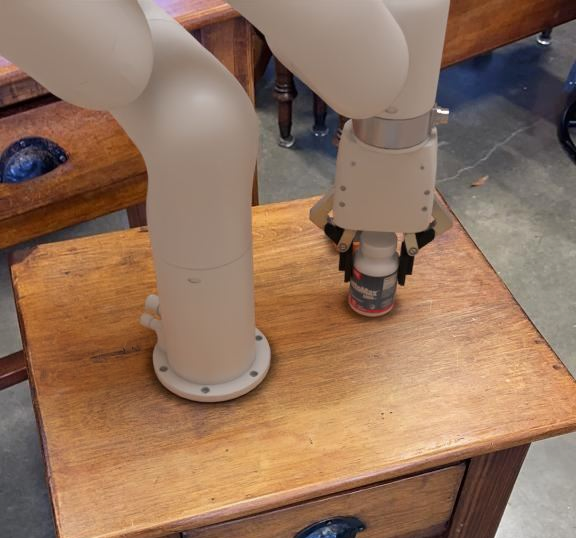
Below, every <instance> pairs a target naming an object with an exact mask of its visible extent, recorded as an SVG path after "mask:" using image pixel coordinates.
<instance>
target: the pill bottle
mask: <svg viewBox="0 0 576 538" xmlns="http://www.w3.org/2000/svg"><path fill="white" fill-rule="evenodd" d="M397 249H398V235H397V232H380V231H363V232H362V234H361V237H360V244H359V247H358V248H357V249H356V250H355V252H354V254H353V257H352V268H351V280H350V282H349V290H348V304H349V306H350V308H351V309H352V310H353V311H354V312H356V313H357V314H360V315H361V316H365V317H381V316H383V315H386V314H388V313H389V312H390V311H391V310H392V309H393V307H394V304H395V300H396V295H397V286H398V274H399V267H400V253H399V252H398V251H397Z"/></svg>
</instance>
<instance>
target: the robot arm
mask: <svg viewBox="0 0 576 538" xmlns="http://www.w3.org/2000/svg"><path fill="white" fill-rule="evenodd" d="M222 1H223V2H225V3H226V4H227V5H228V6H230V7H231V8H232V9H234V10H235V11H236V12H237V13H239V14H240V15H241V16H242V17H243V18H245V19H246V20H247V21H248V22H249V23H250V24H252V26H254V28H256V29H257V30H258V31H259V32H260V33H261V34H262V35H263V36H264V39H265V41H266V43H267V45H268V47H269V50H270V51H271V53H272V54H273V56H274V57H275V58H276V59H277V60H278V61H279V62H280V63H281V64H282V65H283V67H285V68H286V69H287V70H288V71H290V72H291V74H293V75H294V76H295V77H296V78H297V79H298V80H300V81H301V82H302V83H303V84H305V85H306V86H307V87H308V88H309V89H310V90H311V91H313V92H314V93H315V94H316V95H317V96H318V97H319V98H320V99H321V100H322V101H323V102H324V103H325V104H326V105H327V106H328V107H329V108H331V109H332V110H333V111H334V112H336V113H337V114H338V115H340V116H343V117H345V118H348V120H347V121H346V122H345V123H344V125H343V128H342V131H341V135H340V140H339V143H338V144H339V145H338V150H337V154H336V155H337V156H336V162H335V163H336V164H335V172H334V180H333V181H334V183H333V187H332V188H331V189H330V190H329V191H327V193H326V194H324V195H323V196H322V197H321V198H320V199H319V200H318V201H317V202H316V203H315V204H314V205H313V206H311V208H310V209H309V216H308V219H309V221H310V222H311V223H312V224H314V225H315V226H316V227H318V228H319V230H322V231H323V233H324V234H325V236H326V237H327V238H329V240H331V241H332V243H333V242H334V243H335V244H336V245H337V249H338V250H339V251H340V252H339V251H338V252H339V256H338V257H339V258H338V272H344V274H343V283H344V284H345V283H346V284H349V283H350V280H351V268H352V256H353V240H354V239H353V238H354V236H355V234H356V232H357V230H363V231H380V232H395V233H402V235H403V236H402V237H403V240H402V241H401V244H400V251H399V257H400V267H399V274H398V281H397V285H399V287H405V286H406V279H407V276H412V275H413V269H414V263H415V256H417V255H418V254H419V252H420V250H421V249H423V248H424V247H426V246H427V245H429V244H430V243H431V242H433V241H434V240H435V238H436V237H437V236H441V235H442V234H444V233H445V232H447V231H449V230H450V229H452V228H453V226H454V222H453V220H454V219H453V216H452V214H451V213H450V212H449V210H448V209H447V208H446V206H445V205H444V203H442V201H441V199H440V198H439V197H438V195H436V193H435V191H436V181H437V169H438V168H437V167H438V149H439V147H438V140H439V139H438V130H437V126H440V124H441V125H448V123H449V117H450V108H447V107H445V108H443V107H442V106H438V102H436V97H437V91H438V85H439V78H440V71H441V65H442V58H443V51H444V45H445V39H446V33H447V25H448V19H449V13H450V6H451V0H222ZM0 56H1V57H2V58H4V59H5V60H7V61H8V62H10V63H11V64H12V65H13V66H15V67H17V68H18V69H19V70H20V71H23V72H24V73H25V74H27V75H28V76H29V77H30V78H31V79H33V80H35V82H37V83H39V84H40V85H41V87H43V88H45V89H46V90H47V91H48V92H50V93H51V94H52V95H54V96H56V97H57V98H59V99H61V100H62V101H64V102H66V103H68V104H70V105H73V106H76V107H78V108H82V109H84V110H91V111H97V112H102V111H106V112H108V113H109V114H110V115H111V116H112V117H113V118H114V120H115V121H116V122H117V124H119V126H120V127H121V129H122V130H123V131H124V132H125V133H126V135H127V136H128V138H129V139H130V141H131V142H132V143H133V144H134V146H135V147H136V148H137V150H138V151H139V153H140V155H141V156H142V159H143V162H144V164H145V167H146V172H147V191H146V200H145V212H146V213H145V215H146V226H147V233H148V240H149V245H150V250H151V256H152V261H153V262H152V264H153V269H154V276H155V277H154V278H155V281H156V282H155V283H156V288H157V289H156V290H157V294H155V293H150V294H149V295H148V296H147V297H146V299H145V301H144V309H145V310H146V311H148V312H150V313H152V314H154V315H156V316H159V317H161V318H160V319H159V318H157V317H155V316H153V315H152V314H149V313H147V312H144V313H142V314H141V316H140V317H139V323H140V325H141V326H143V327H145V328H147V329H149V330H153V331H154V332H155V334H156V337H157V342H156V343H155V346H154V348H153V351H152V352H153V353H152V363H153V369H154V373H155V375H156V377H157V379H158V380H159V382H160V383H161V385H163V386H164V387H165V389H167V390H168V391H170V392H171V393H173V394H175V395H176V396H178V397H181V398H184V399H187V400H190V401H196V402H200V403H216V402H224V401H229V400H233V399H236V398H239V397H241V396H244V395H245V394H247V393H249V392H250V391H252V390H254V389H255V388H256V387H257V386H259V385H260V384H261V383H262V381H263V380H264V379H265V377H266V376H267V374H268V373H269V370H270V368H271V360H272V359H271V357H272V356H271V348H270V347H271V346H270V344H269V341H268V339H267V338H266V335H264V333H263V332H262V331H261V330H260V329H259V328H258V327H256V305H255V301H256V300H255V274H254V273H255V272H254V242H253V240H254V239H253V222H252V221H253V217H252V216H253V215H252V211H253V210H252V209H253V208H252V207H253V188H254V187H253V185H254V177H255V170H256V165H257V160H258V153H259V148H260V147H259V146H260V126H259V120H258V116H257V113H256V109H255V107H254V105H253V103H252V100H251V99H250V97H249V95H248V93H247V91H246V90H245V88H244V87H243V86H242V85H241V83H240V82H239V80H238V79H237V78H236V77H235V76H234V74H233V73H232V72H231V71H230V70H229V69H228V68H227V66H225V65H224V64H223V63H222V62H221V61H220V60H219V59H218V58H217V57H216V56H215V55H214V54H213V53H211V51H209V50H208V49H207V48H205V47H204V45H202V44H201V43H200V42H199V41H198V39H196V38H195V36H193V35H192V34H191V33H190V32H189V31H188V30H187V29H185V27H184V26H183V25H182V24H180V23H179V21H177V20H176V19H175V18H174V17H173V16H172V15H170V13H168V12H167V11H166V10H165V9H163V8H162V6H160V5H159V4H158V3H157V2H155V1H154V0H0ZM331 212H332V216H330V215H329V214H330V213H331ZM432 218H433V219H432ZM431 219H432V220H431Z"/></svg>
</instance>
